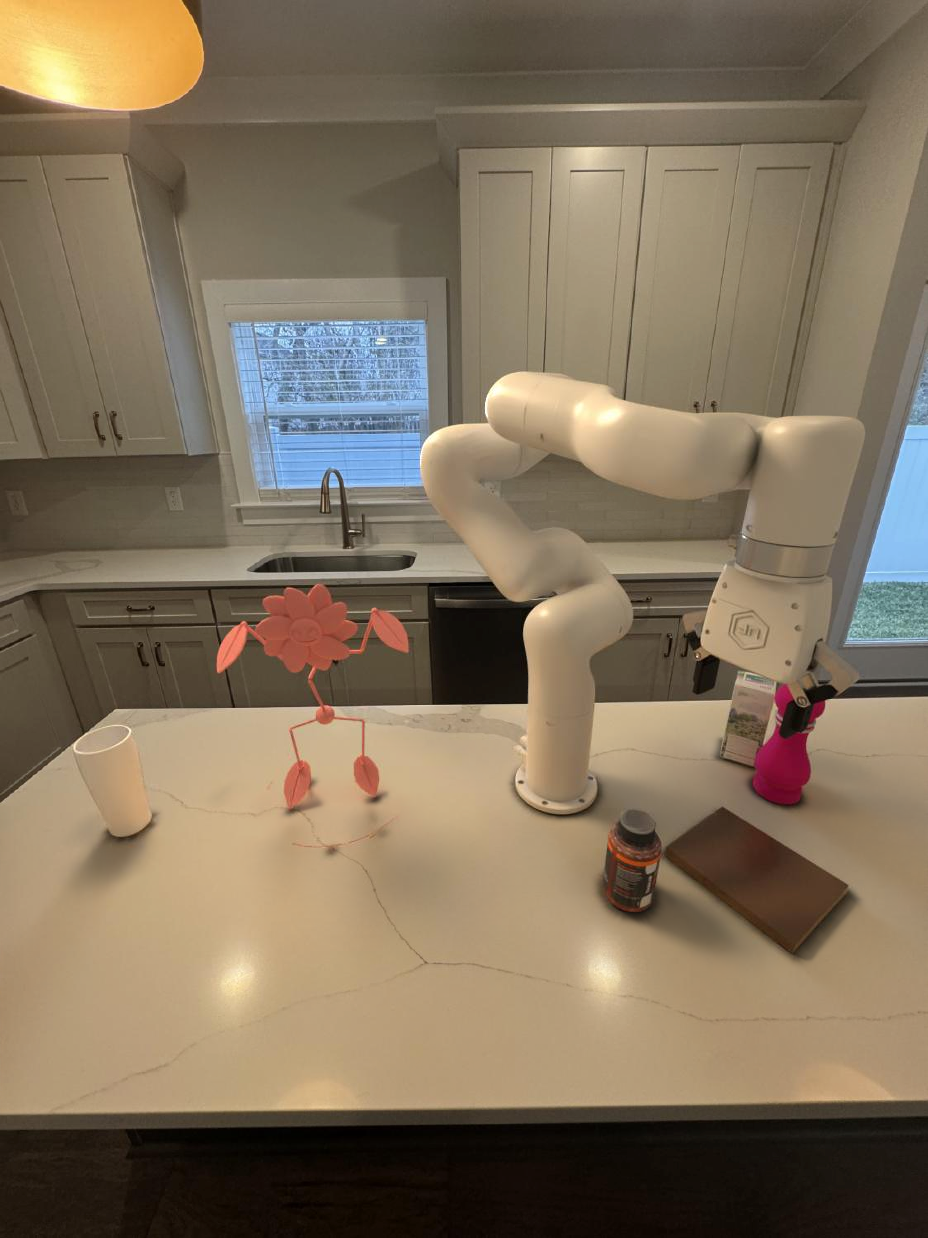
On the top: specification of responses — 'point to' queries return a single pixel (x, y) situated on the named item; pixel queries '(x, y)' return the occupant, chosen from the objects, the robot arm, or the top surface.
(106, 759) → the drinking glass
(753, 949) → the top surface
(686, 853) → the cutting board
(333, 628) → the figurine
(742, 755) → the syrup box
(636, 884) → the supplement bottle
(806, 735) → the pepper mill
